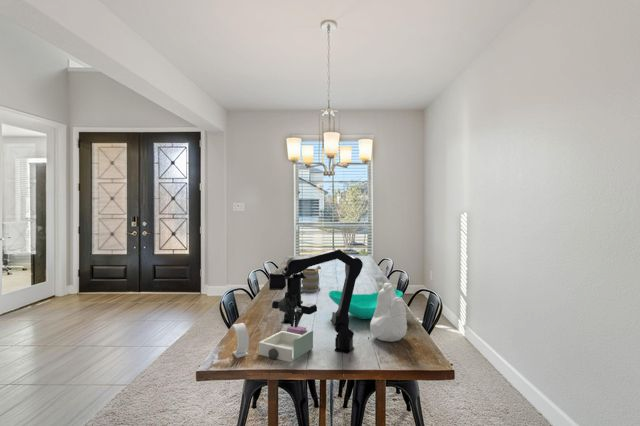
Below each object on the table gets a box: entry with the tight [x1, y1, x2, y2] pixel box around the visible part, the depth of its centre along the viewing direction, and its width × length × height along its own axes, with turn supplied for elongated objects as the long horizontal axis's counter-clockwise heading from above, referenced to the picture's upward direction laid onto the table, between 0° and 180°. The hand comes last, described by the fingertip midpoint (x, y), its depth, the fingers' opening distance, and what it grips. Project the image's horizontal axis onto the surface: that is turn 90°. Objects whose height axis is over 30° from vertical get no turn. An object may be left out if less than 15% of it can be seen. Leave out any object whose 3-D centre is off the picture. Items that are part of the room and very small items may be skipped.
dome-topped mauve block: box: [286, 324, 309, 335], centre depth 180 cm, size 11×4×4 cm, turn 60°
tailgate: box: [293, 329, 314, 360], centre depth 160 cm, size 1×13×8 cm, turn 150°
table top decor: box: [328, 289, 404, 320], centre depth 210 cm, size 40×28×13 cm
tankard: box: [301, 265, 322, 293], centre depth 274 cm, size 20×13×15 cm, turn 147°
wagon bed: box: [258, 330, 301, 363], centre depth 164 cm, size 16×19×5 cm
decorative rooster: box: [369, 282, 408, 343], centre depth 175 cm, size 25×16×25 cm, turn 1°
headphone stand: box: [232, 322, 250, 359], centre depth 160 cm, size 5×6×12 cm
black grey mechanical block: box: [280, 313, 295, 325], centre depth 204 cm, size 12×7×5 cm, turn 165°
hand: (294, 327), depth 162 cm, fingers closed
